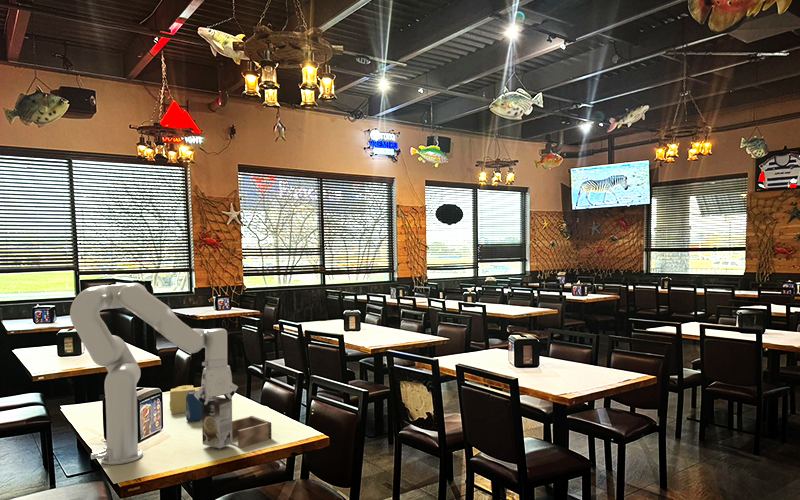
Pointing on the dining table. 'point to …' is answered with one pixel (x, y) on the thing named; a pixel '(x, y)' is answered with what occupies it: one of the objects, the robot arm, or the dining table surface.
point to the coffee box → (218, 423)
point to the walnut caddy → (250, 431)
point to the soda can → (193, 407)
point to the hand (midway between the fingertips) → (216, 412)
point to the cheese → (179, 398)
